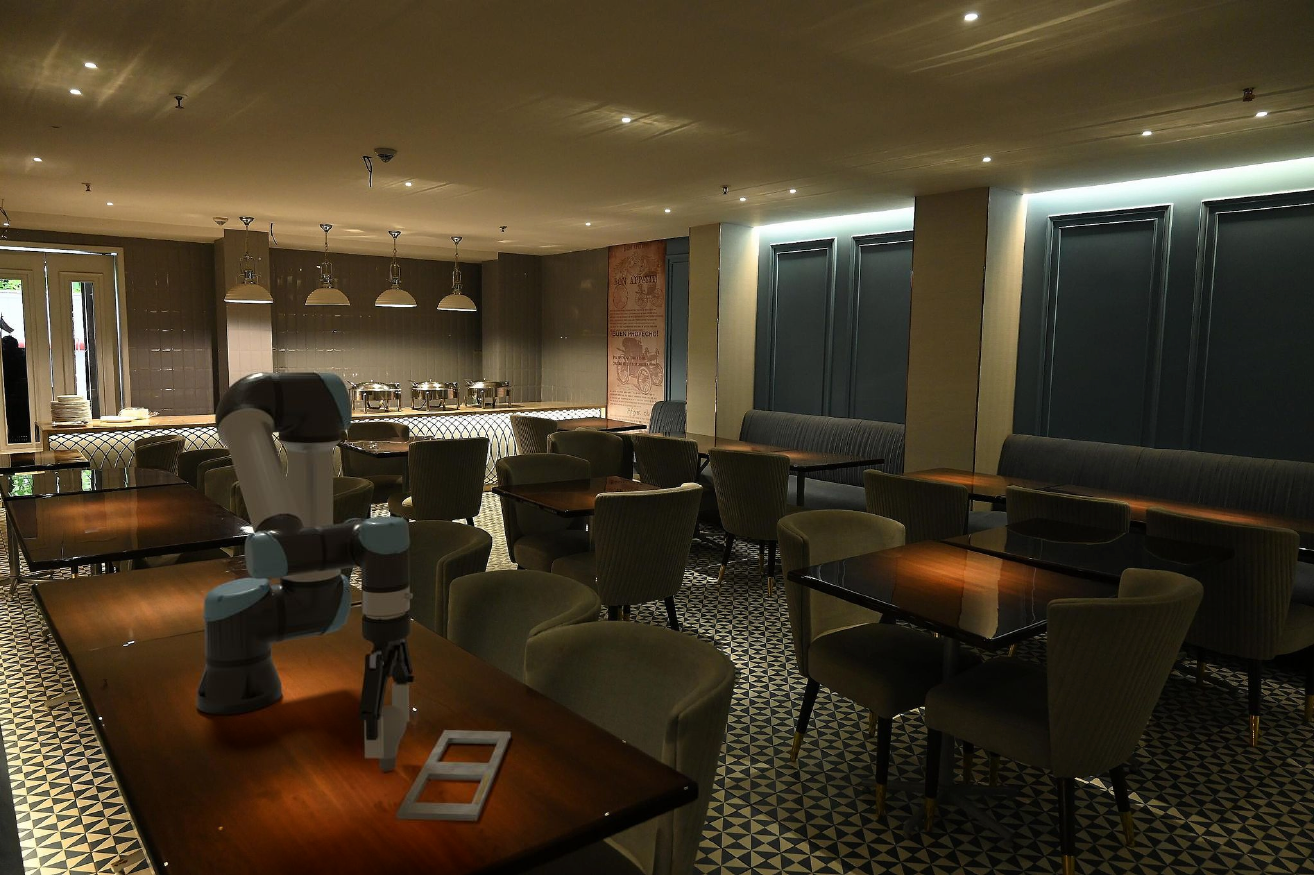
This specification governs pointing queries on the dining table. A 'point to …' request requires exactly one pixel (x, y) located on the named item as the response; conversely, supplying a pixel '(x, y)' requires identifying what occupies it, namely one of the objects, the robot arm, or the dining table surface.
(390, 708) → the lightbulb
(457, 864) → the dining table surface
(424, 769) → the grey window frame
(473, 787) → the dining table surface
